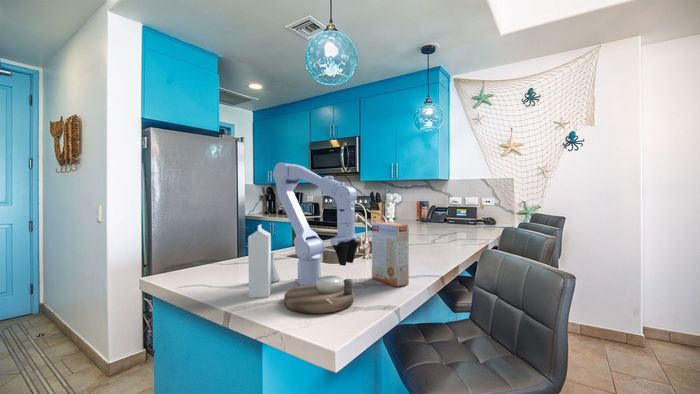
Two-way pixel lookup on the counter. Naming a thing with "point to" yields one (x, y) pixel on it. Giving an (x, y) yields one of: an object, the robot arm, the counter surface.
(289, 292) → the turntable
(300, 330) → the counter surface
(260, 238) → the milk
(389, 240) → the cracker box
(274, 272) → the flask
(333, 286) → the dish
